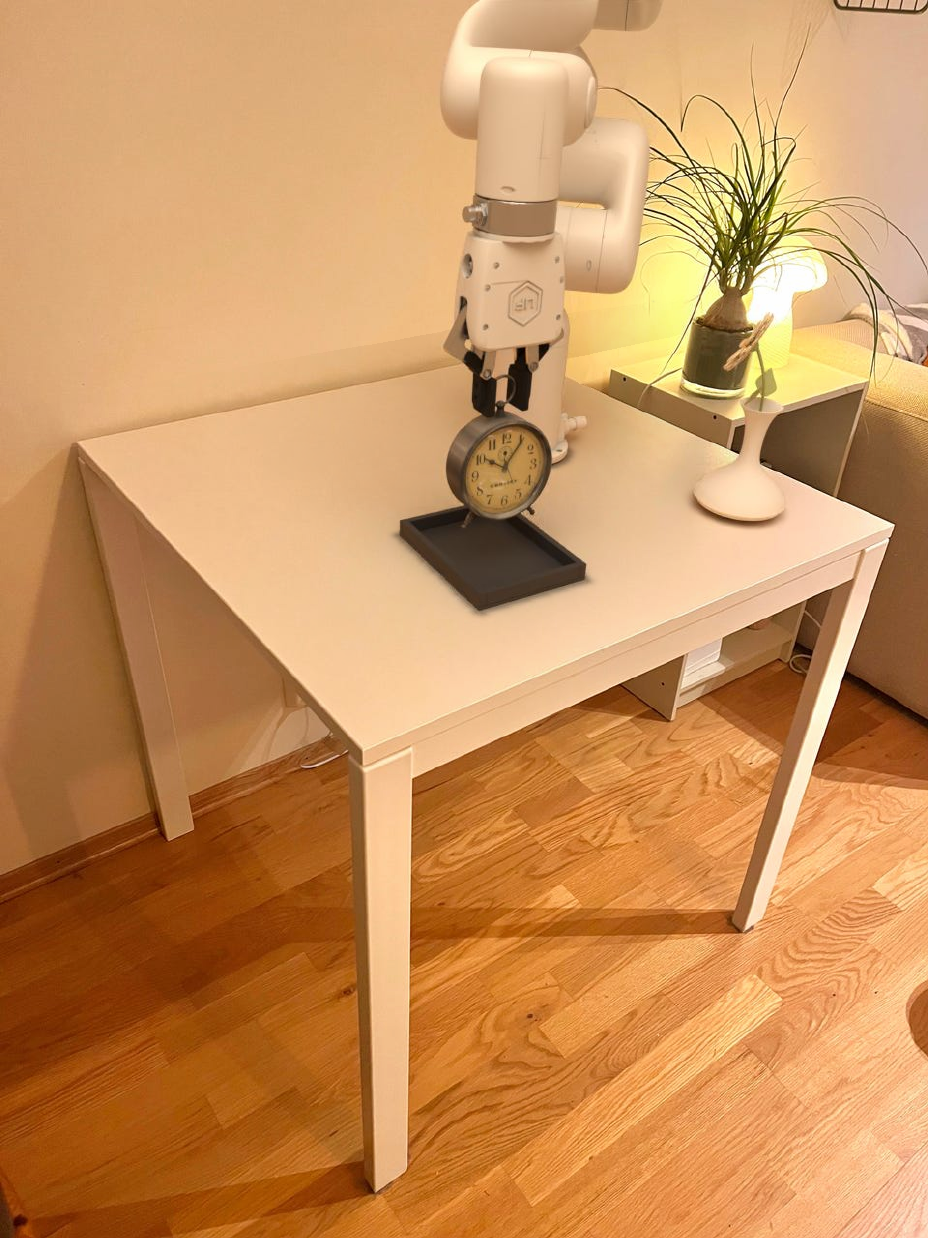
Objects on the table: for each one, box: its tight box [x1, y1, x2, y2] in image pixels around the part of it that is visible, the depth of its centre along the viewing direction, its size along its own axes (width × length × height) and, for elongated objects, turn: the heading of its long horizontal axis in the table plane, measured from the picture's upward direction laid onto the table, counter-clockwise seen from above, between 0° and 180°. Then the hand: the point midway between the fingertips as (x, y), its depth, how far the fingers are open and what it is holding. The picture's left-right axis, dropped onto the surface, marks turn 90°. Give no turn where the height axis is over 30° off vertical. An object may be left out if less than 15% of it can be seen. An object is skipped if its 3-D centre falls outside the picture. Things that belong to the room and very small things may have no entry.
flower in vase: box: [693, 311, 787, 522], centre depth 108 cm, size 13×11×25 cm
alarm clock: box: [445, 374, 553, 530], centre depth 96 cm, size 11×5×16 cm, turn 117°
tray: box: [399, 504, 587, 611], centre depth 102 cm, size 14×18×2 cm
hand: (500, 408), depth 93 cm, fingers closed on alarm clock, 3 cm apart
